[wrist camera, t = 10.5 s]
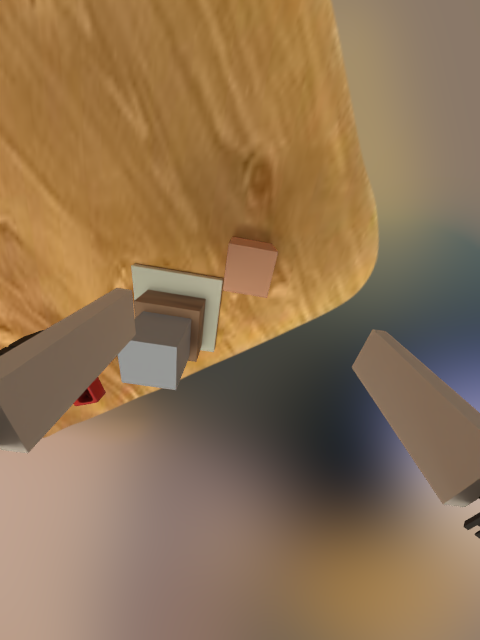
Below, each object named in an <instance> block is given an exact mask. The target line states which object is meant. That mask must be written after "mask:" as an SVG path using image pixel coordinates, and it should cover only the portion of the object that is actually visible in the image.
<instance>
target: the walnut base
mask: <svg viewBox="0 0 480 640" xmlns="http://www.w3.org/2000/svg"><path fill="white" fill-rule="evenodd" d="M205 302H206V299H203V298H197V297H191V296H185V295H179V294H172V293H166V292H160V291H154V290H147V291H146V292H144V293H143V294H142V295H141V296H139V297H138V298H137V299H136V300H134V309H135V318H136V317H137V316H138V315H139V314H140V313H142V312H143V311H145V312H151V313H158V314H164V315H170V316H177V317H183V318H189V319H191V335H190V352H189V358H188V361H195V362H196V361H197V358H198V355H199V352H200V349H201V346H202V337H203V325H204V314H205Z"/></svg>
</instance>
